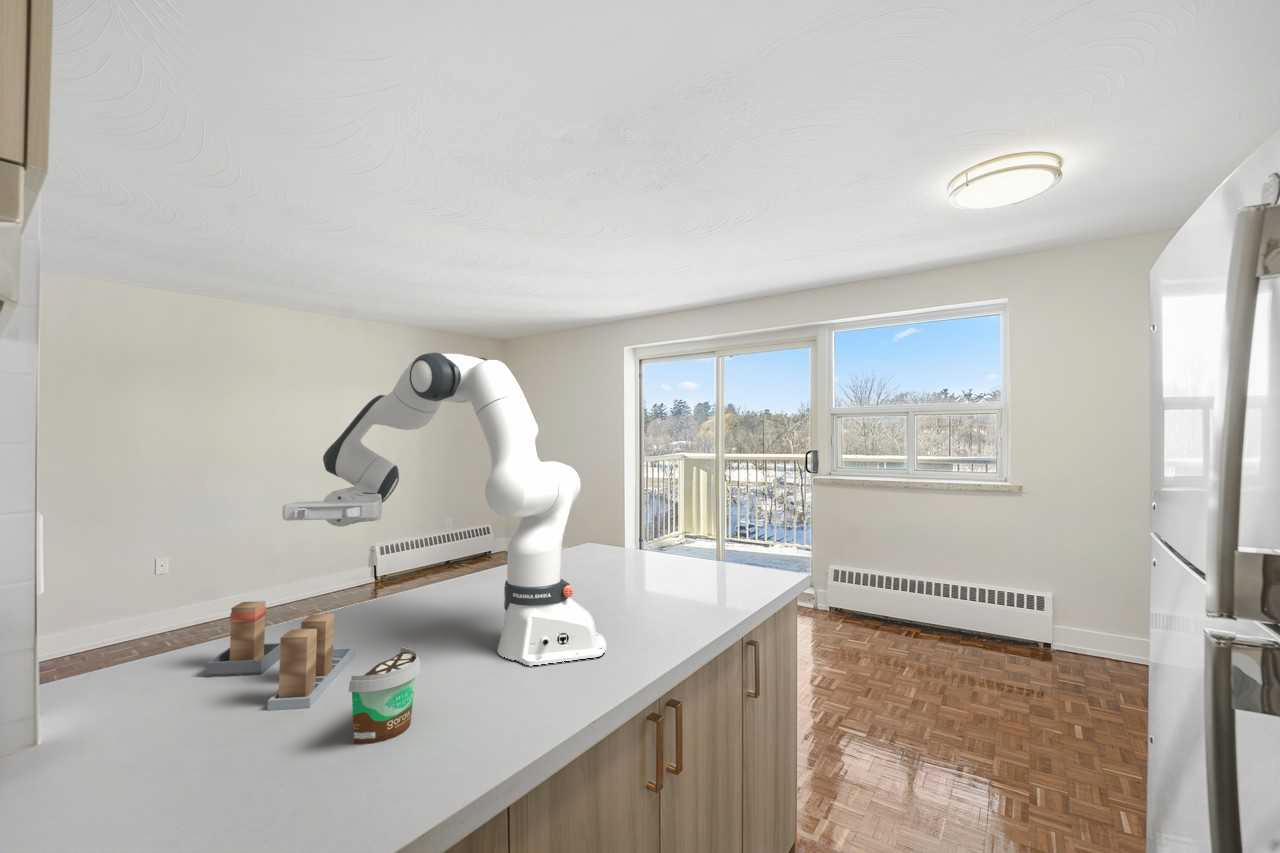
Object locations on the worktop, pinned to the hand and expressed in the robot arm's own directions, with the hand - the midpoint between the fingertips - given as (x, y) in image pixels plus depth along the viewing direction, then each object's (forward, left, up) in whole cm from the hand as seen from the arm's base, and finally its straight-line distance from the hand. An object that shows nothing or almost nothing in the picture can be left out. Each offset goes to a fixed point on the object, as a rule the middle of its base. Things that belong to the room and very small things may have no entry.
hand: (321, 514), depth 122 cm
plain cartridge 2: (-8, +23, -27) cm, 36 cm away
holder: (-8, +23, -27) cm, 36 cm away
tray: (+7, +15, -27) cm, 31 cm away
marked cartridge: (+7, +15, -26) cm, 31 cm away
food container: (-26, +43, -27) cm, 57 cm away
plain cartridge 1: (-8, +31, -27) cm, 41 cm away
